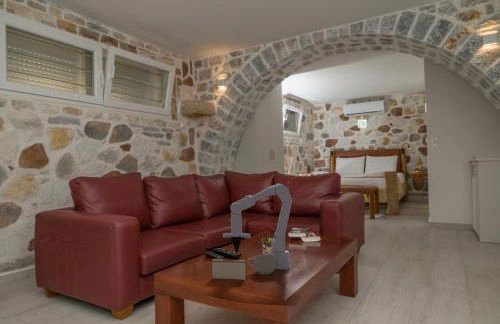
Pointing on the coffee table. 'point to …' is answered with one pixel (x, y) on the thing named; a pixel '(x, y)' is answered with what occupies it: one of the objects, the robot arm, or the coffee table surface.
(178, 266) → the coffee table surface
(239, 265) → the cream slab
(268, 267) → the teacup
